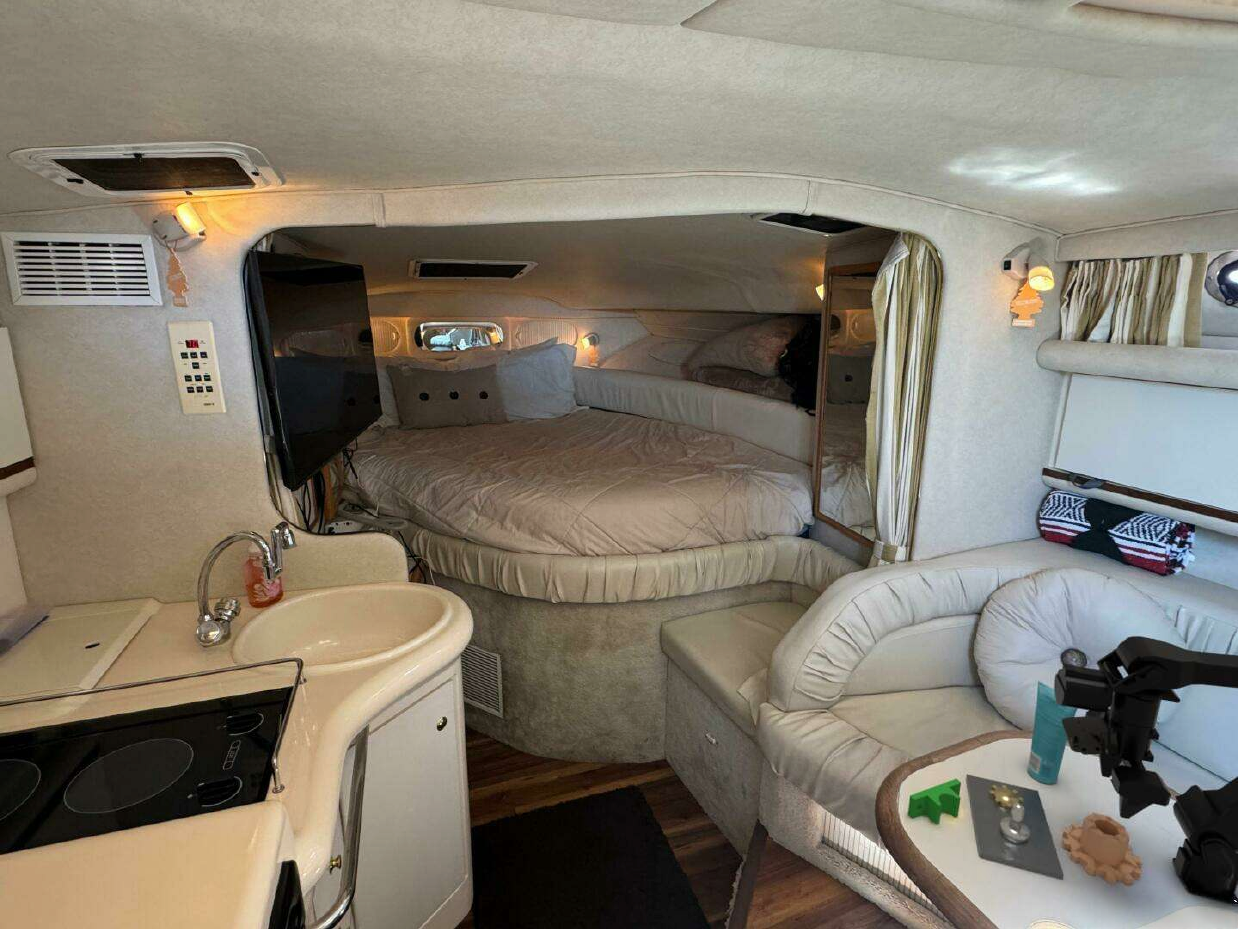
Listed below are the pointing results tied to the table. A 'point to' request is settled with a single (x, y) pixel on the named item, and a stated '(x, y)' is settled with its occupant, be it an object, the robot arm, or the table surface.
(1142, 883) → the table surface
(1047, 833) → the carrier plate
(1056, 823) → the table surface
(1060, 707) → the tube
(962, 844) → the table surface
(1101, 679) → the robot arm
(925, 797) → the pipe clamp
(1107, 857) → the planet gear
